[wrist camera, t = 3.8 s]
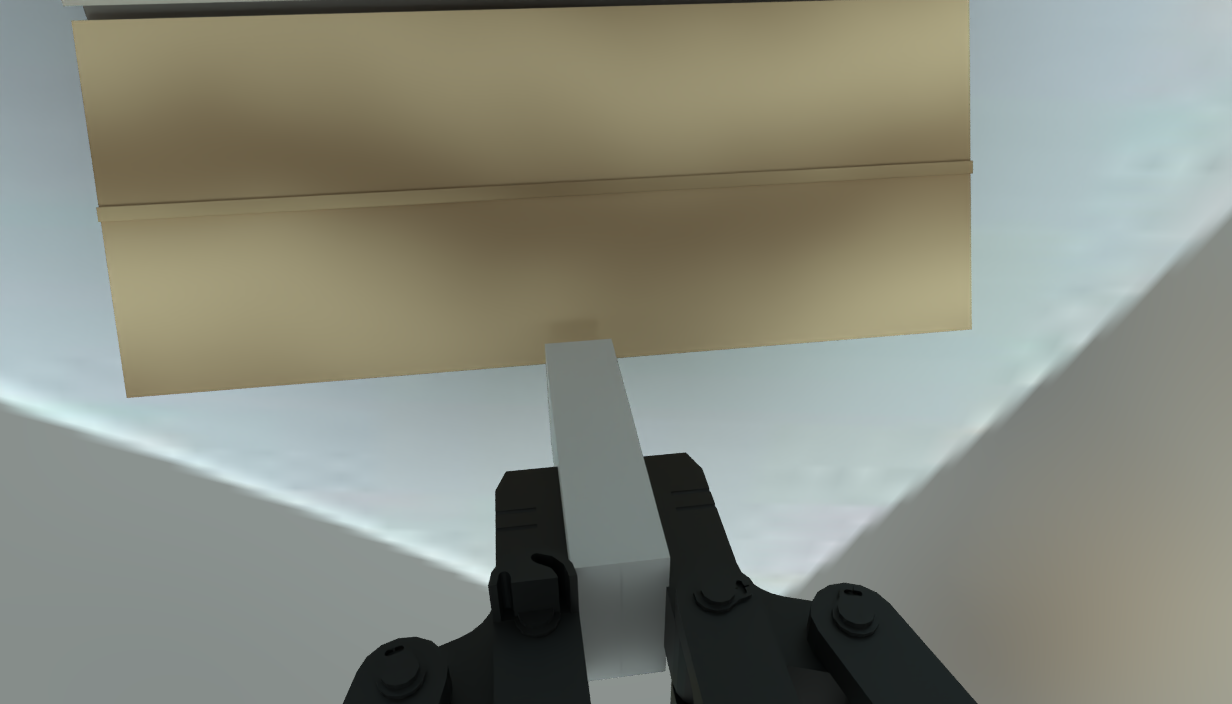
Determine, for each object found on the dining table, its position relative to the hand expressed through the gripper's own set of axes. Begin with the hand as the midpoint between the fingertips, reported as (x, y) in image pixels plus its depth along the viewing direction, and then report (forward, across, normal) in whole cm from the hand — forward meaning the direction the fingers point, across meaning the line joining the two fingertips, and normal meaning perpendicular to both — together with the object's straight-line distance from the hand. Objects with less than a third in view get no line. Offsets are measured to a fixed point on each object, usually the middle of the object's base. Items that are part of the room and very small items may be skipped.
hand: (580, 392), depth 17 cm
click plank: (+4, 0, +3) cm, 5 cm away
